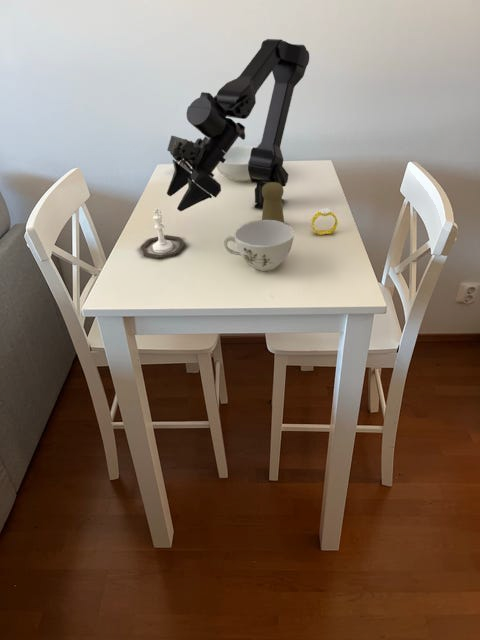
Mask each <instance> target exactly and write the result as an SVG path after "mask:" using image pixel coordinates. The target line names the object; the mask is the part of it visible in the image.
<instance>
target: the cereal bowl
mask: <svg viewBox="0 0 480 640" xmlns="http://www.w3.org/2000/svg"><path fill="white" fill-rule="evenodd" d="M253 147H255V148H257V147H258V146H252V145H238V146H231V148H230V149H229V150H228V152H227V153H226V154H225V156H224V157H223V158H224V159H226V160H225V162H224V163H222V162H221V161H220V162H219V164H218V165H217V166H216V169H217V171H218V172H219V173H220V174H221V175H222V176H224V177H226V178H228V179H231V180H232V181H235V182H239V183H240V182H251V179H250V176H249V172H248V162H249V159H250V155H251V150H252V148H253ZM222 151H223V150H222Z"/></svg>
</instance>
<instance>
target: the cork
mask: <svg viewBox="0 0 480 640" xmlns="http://www.w3.org/2000/svg"><path fill="white" fill-rule="evenodd" d="M284 193H285V192H284V187H282V185H281V184H279V183H276V182H270V183H266V184H265V185H264V186H263V187H262V196H263V197H264V203H263V209H262V213H261V220H275V221H279V222H282V223H285V217H284V210H283V203H282V201H281V197H282V198H283V195H284Z"/></svg>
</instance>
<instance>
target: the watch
mask: <svg viewBox="0 0 480 640" xmlns="http://www.w3.org/2000/svg"><path fill="white" fill-rule="evenodd" d="M320 216H321V217H327V216H332V218H334V224H333V226H332V227H331V228H330V229H327V230H321V231H319V230H317V229H316V228H315V221H316V220H317V218H319V217H320ZM338 225H339V224H338V218H337V216H336V214H335V213H334V212H333V211H331V209H330V208H326V207H324V208H320V209H319V210H318V212H317V213H315V214H314V215H313V217H312V219H311V229H312V230H313V232H314V233H315V234H316V235H318V236H322V235H329V234H330V235H331V234H333V233H334V232H335V231H336V229H337V227H338Z"/></svg>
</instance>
